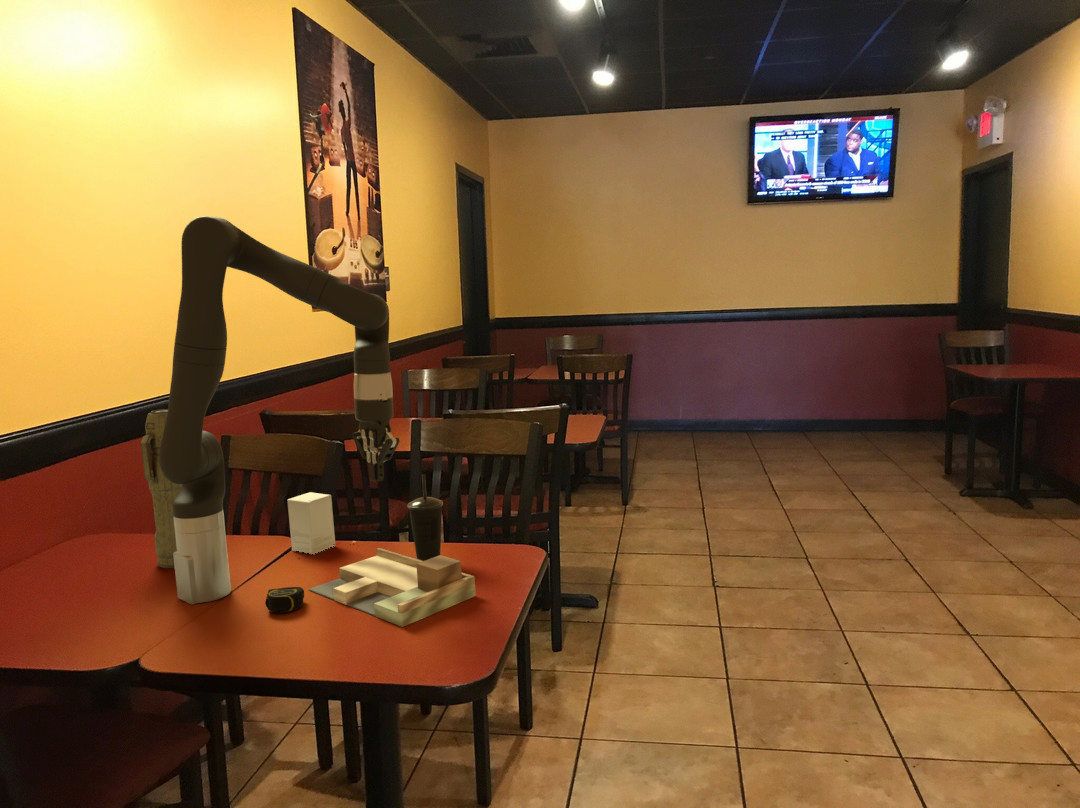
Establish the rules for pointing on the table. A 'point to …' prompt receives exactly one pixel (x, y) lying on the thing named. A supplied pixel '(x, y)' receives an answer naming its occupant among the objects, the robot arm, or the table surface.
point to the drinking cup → (426, 525)
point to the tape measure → (284, 599)
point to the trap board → (393, 589)
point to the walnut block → (438, 572)
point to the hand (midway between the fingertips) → (377, 480)
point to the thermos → (160, 489)
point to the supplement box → (311, 522)
